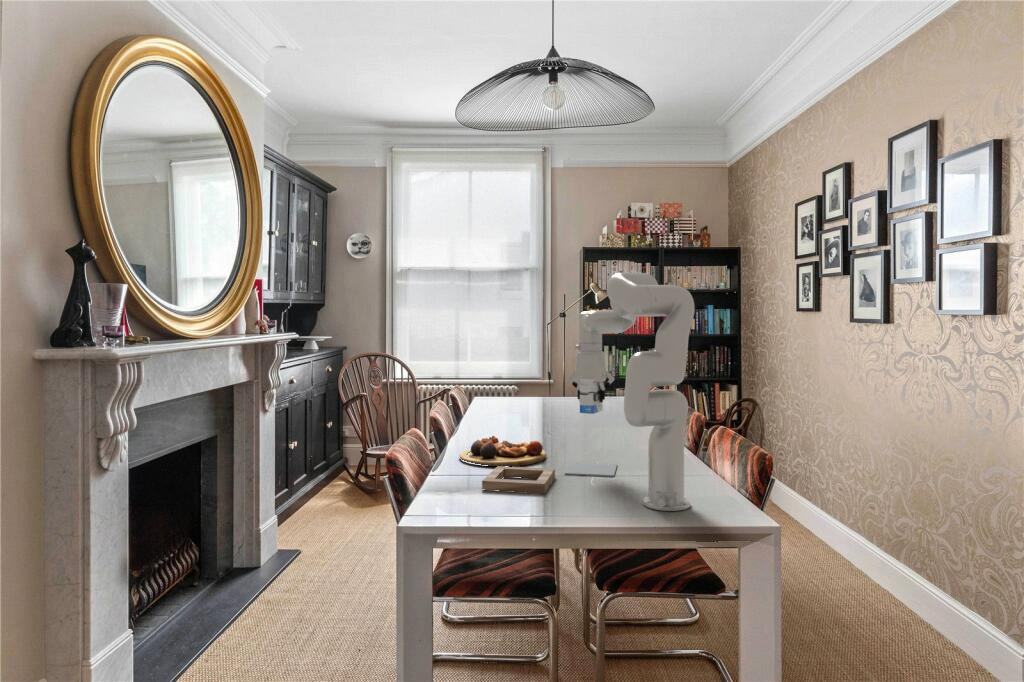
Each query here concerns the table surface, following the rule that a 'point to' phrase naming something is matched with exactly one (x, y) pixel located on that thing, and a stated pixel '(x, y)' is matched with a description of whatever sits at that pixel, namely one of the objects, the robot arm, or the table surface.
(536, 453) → the wooden plate with food
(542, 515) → the table surface
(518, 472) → the square wooden frame
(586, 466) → the slate grey mat
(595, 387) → the ink box
